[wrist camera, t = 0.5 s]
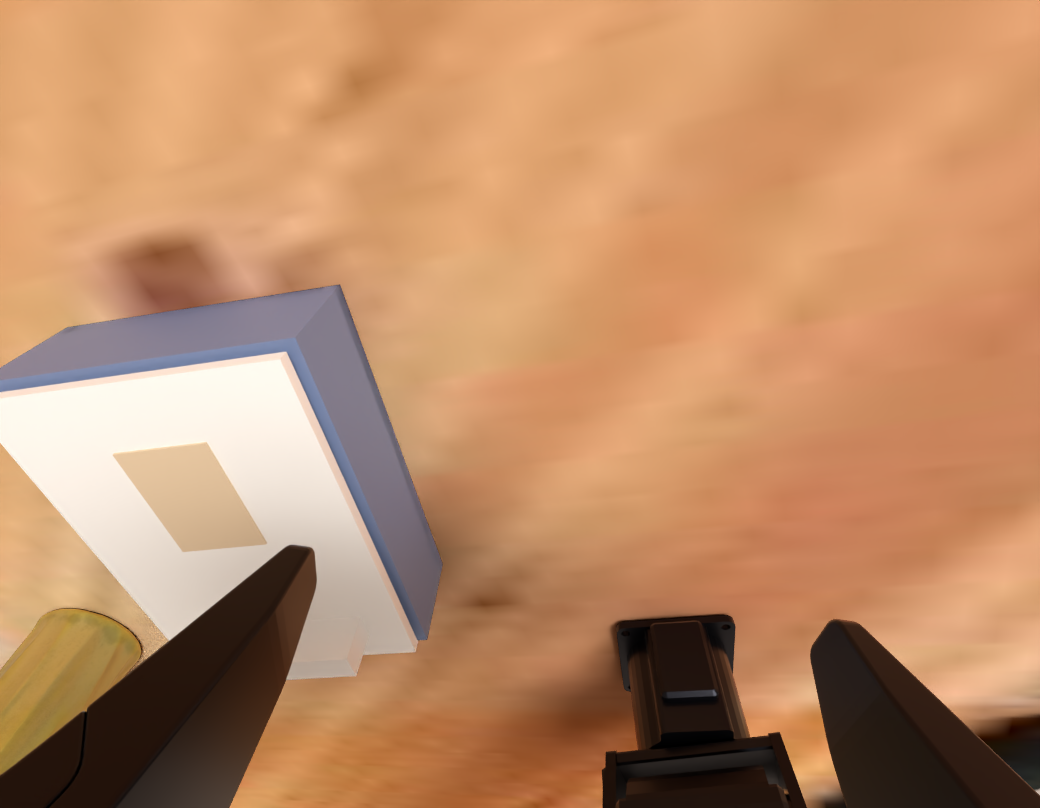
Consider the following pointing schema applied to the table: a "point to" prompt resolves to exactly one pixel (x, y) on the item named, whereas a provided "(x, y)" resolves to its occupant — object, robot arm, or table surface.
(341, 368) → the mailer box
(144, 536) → the lid
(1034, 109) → the table surface
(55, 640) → the vase
